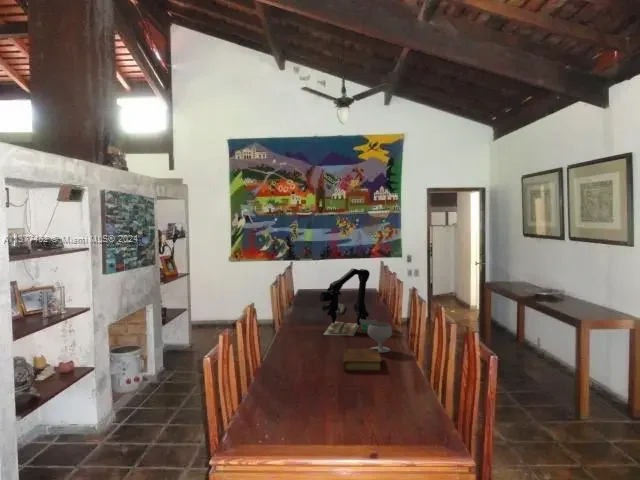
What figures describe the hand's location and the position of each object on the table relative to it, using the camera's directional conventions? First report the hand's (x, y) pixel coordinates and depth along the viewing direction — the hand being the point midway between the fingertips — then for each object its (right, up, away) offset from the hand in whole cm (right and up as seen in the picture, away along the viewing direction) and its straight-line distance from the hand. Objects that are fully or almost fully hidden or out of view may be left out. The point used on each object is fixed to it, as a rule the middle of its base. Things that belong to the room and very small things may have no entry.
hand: (333, 323), depth 330 cm
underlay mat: (+5, -4, -7) cm, 9 cm away
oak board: (+11, -4, -8) cm, 13 cm away
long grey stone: (+6, -1, +65) cm, 65 cm away
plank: (+1, -2, -6) cm, 7 cm away
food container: (+21, -4, -19) cm, 29 cm away
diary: (+12, -7, -83) cm, 84 cm away
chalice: (+25, -6, -57) cm, 63 cm away
